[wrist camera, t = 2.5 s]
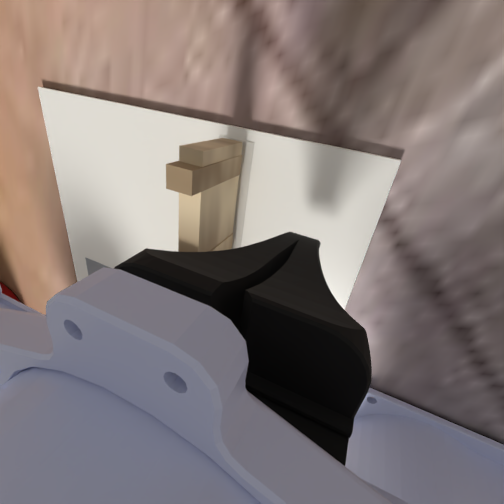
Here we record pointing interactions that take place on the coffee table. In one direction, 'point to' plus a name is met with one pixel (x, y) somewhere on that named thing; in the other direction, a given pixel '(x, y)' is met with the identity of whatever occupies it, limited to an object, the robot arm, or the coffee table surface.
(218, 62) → the coffee table surface
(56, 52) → the coffee table surface
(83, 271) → the card
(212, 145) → the fence panel
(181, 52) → the coffee table surface
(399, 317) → the coffee table surface
